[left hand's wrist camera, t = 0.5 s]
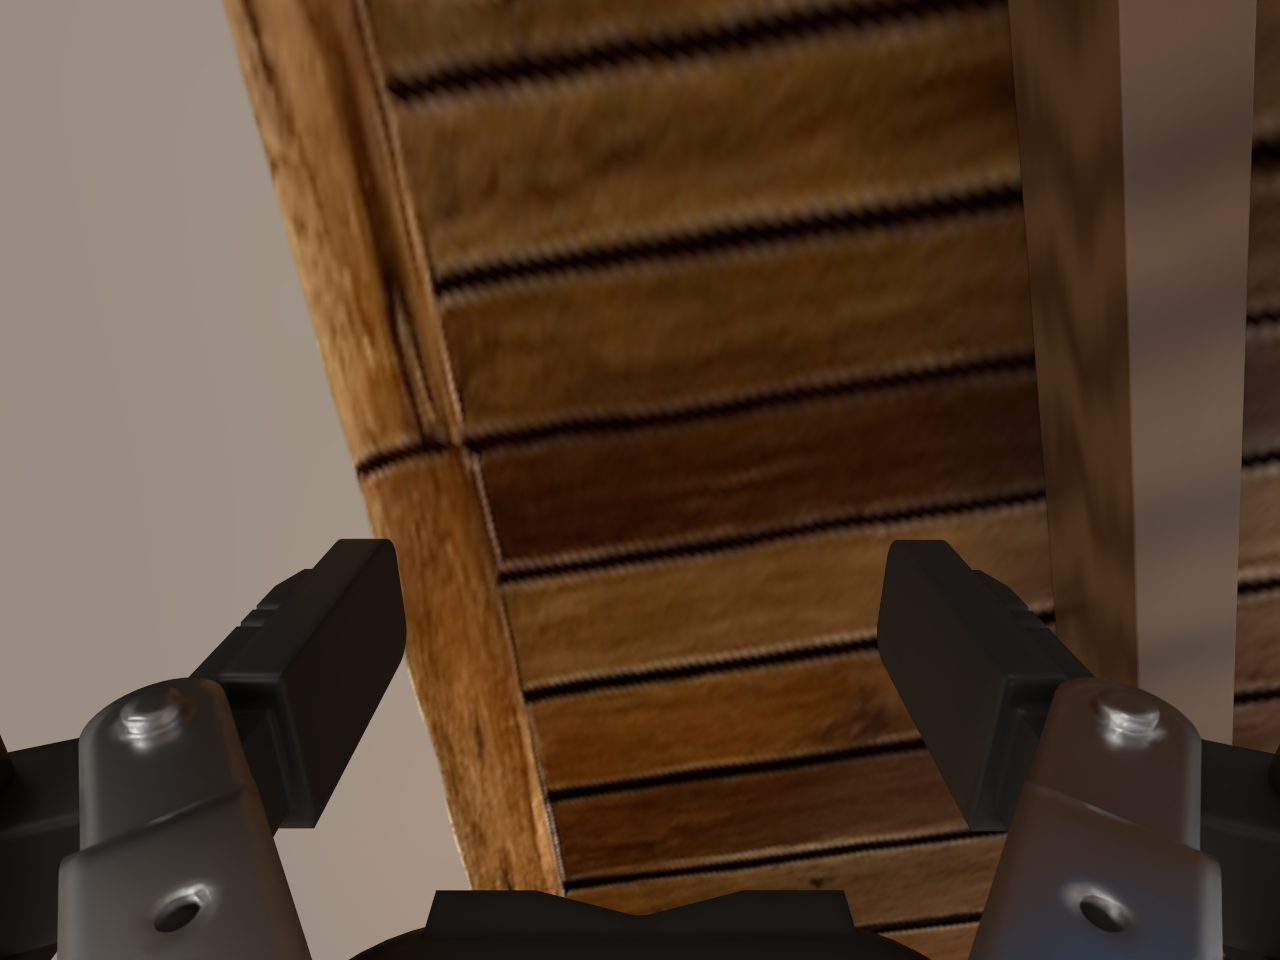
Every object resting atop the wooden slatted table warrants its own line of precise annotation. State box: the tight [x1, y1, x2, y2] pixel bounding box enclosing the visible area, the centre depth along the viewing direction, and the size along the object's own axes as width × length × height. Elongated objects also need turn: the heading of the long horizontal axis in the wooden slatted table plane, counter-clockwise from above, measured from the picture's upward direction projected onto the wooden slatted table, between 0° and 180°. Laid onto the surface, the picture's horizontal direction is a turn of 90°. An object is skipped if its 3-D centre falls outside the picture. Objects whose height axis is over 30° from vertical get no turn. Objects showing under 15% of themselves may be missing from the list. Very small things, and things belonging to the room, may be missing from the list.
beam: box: [1008, 0, 1257, 745], centre depth 35 cm, size 57×5×8 cm, turn 16°
